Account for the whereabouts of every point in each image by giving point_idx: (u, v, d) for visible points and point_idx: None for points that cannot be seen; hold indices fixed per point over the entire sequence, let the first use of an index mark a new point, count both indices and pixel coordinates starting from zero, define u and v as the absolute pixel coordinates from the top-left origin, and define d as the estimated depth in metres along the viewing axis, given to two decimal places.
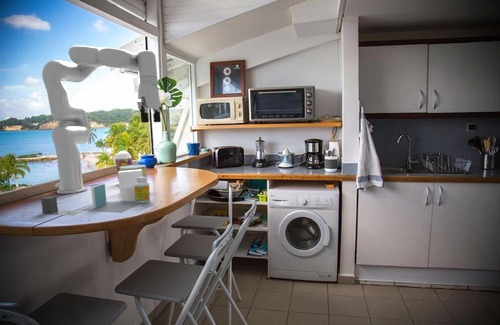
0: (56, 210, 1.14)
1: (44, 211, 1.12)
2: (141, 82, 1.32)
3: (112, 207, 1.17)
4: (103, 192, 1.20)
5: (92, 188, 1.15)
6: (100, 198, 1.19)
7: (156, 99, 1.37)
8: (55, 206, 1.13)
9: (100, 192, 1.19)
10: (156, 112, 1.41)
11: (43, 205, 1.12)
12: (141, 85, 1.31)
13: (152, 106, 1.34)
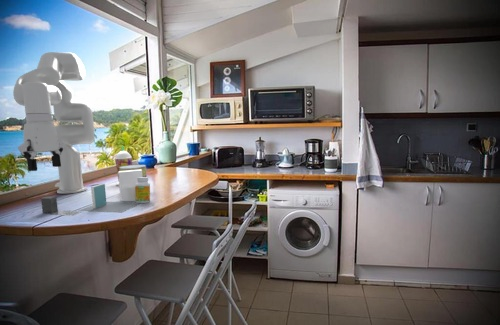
0: (56, 210, 1.14)
1: (44, 211, 1.12)
2: (27, 121, 1.06)
3: (112, 207, 1.17)
4: (103, 192, 1.20)
5: (92, 188, 1.15)
6: (100, 198, 1.19)
7: (51, 140, 1.11)
8: (55, 206, 1.13)
9: (100, 192, 1.19)
10: (55, 155, 1.15)
11: (43, 205, 1.12)
12: (27, 125, 1.05)
13: (43, 150, 1.08)
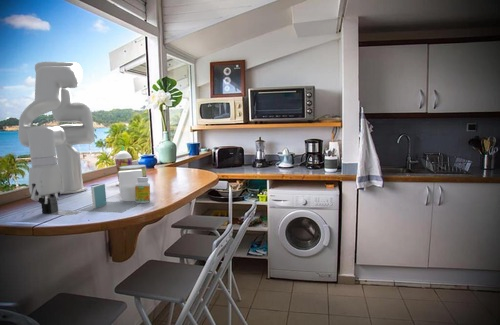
0: (56, 210, 1.14)
1: None
2: (33, 165, 1.08)
3: (112, 207, 1.17)
4: (103, 192, 1.20)
5: (92, 188, 1.15)
6: (100, 198, 1.19)
7: (56, 182, 1.13)
8: (55, 206, 1.13)
9: (100, 192, 1.19)
10: None
11: None
12: (32, 169, 1.07)
13: (48, 192, 1.10)
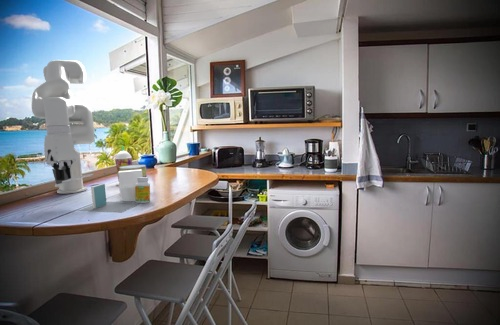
0: (68, 178, 1.21)
1: (57, 180, 1.20)
2: (48, 132, 1.16)
3: (112, 207, 1.17)
4: (103, 192, 1.20)
5: (92, 188, 1.15)
6: (100, 198, 1.19)
7: (69, 150, 1.21)
8: (66, 174, 1.21)
9: (100, 192, 1.19)
10: None
11: (55, 175, 1.20)
12: (48, 136, 1.15)
13: (62, 159, 1.18)
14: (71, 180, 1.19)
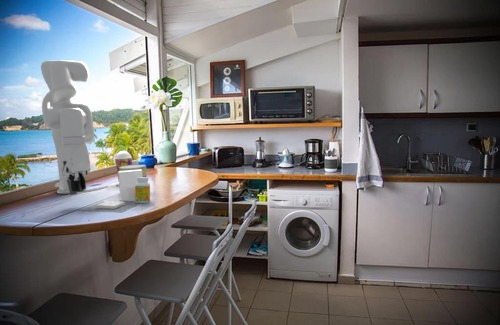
0: (82, 189, 1.21)
1: (71, 191, 1.20)
2: (63, 144, 1.15)
3: None
4: None
5: (113, 207, 1.14)
6: None
7: (84, 160, 1.20)
8: (80, 185, 1.21)
9: None
10: None
11: (69, 186, 1.20)
12: (63, 147, 1.14)
13: (78, 170, 1.18)
14: None
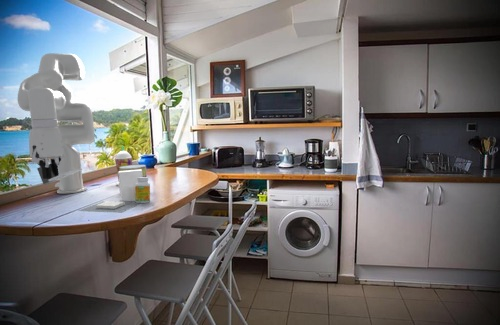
0: (55, 176, 1.12)
1: (43, 179, 1.11)
2: (33, 127, 1.06)
3: None
4: None
5: (113, 207, 1.14)
6: None
7: (56, 146, 1.11)
8: (53, 172, 1.11)
9: None
10: (52, 165, 1.12)
11: (41, 174, 1.10)
12: (32, 131, 1.05)
13: (49, 155, 1.08)
14: (58, 178, 1.09)
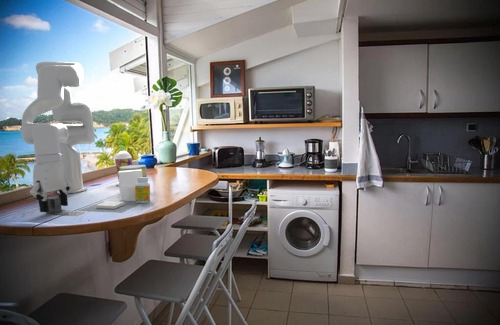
0: (60, 210, 1.13)
1: None
2: (37, 162, 1.07)
3: None
4: None
5: (113, 207, 1.14)
6: None
7: (60, 179, 1.12)
8: (59, 206, 1.12)
9: None
10: (62, 194, 1.16)
11: None
12: (37, 166, 1.06)
13: (53, 190, 1.10)
14: (63, 215, 1.11)
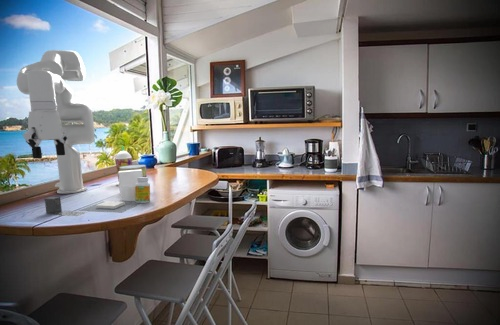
0: (60, 210, 1.13)
1: (48, 211, 1.11)
2: (32, 109, 1.07)
3: None
4: None
5: (113, 207, 1.14)
6: None
7: (55, 128, 1.12)
8: (59, 206, 1.12)
9: None
10: (59, 143, 1.16)
11: (47, 205, 1.11)
12: (32, 112, 1.06)
13: (48, 138, 1.09)
14: (63, 215, 1.11)
